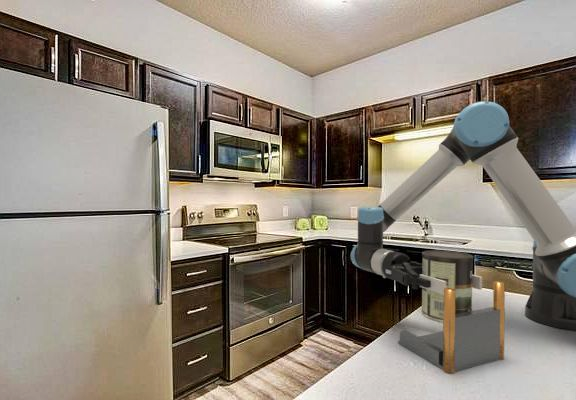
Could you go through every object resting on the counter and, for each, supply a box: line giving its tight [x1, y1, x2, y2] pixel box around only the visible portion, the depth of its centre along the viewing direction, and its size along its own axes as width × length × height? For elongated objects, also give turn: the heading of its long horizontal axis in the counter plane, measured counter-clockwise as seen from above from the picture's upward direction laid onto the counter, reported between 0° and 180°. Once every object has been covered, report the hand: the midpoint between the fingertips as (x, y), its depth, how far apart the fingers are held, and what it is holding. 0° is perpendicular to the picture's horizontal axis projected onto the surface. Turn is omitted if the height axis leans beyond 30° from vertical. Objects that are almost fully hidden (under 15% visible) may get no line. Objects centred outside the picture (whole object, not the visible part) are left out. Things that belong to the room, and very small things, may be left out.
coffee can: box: [421, 249, 474, 324], centre depth 72 cm, size 10×10×14 cm
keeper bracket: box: [398, 280, 506, 375], centre depth 71 cm, size 16×14×16 cm
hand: (463, 285), depth 68 cm, fingers closed on coffee can, 10 cm apart
